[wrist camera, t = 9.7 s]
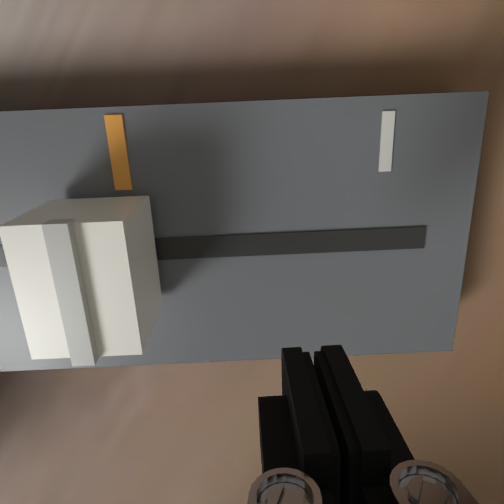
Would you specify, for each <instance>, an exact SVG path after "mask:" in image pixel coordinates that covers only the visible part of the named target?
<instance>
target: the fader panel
mask: <svg viewBox="0 0 504 504" xmlns="http://www.w3.org/2000/svg"><path fill="white" fill-rule="evenodd" d="M488 98H489V91H477V92H453V93H429V94H406V95H382V96H358V97H334V98H310V99H286V100H263V101H239V102H215V103H191V104H167V105H143V106H119V107H96V108H72V109H48V110H24V111H0V225H2V224H4V223H6V222H8V221H10V220H12V219H14V218H16V217H18V216H20V215H22V214H24V213H26V212H28V211H30V210H32V209H34V208H36V207H38V206H40V205H42V204H44V203H46V202H48V201H50V200H57V199H80V198H103V197H126V196H149V199H150V207H151V215H152V223H153V231H154V239H155V247H156V255H157V263H158V271H159V279H160V287H161V295H162V303H163V305H162V307H161V310H160V312H159V315H158V317H157V320H156V322H155V325H154V327H153V330H152V332H151V335H150V337H149V340H148V342H147V345H146V347H145V350H144V352H143V354H142V355H121V356H100V357H99V359H98V361H97V363H96V364H95V365H94V366H73V367H72V363H71V359H70V358H56V359H35V360H32V359H31V355H30V351H29V347H28V343H27V339H26V335H25V332H24V328H23V324H22V320H21V316H20V312H19V308H18V304H17V300H16V296H15V292H14V288H13V285H12V281H11V277H10V273H9V269H8V265H7V261H6V257H5V253H4V249H3V245H2V241H1V237H0V372H3V371H24V370H46V369H68V368H89V367H111V366H133V365H154V364H176V363H198V362H219V361H241V360H263V359H281V349H282V348H288V347H301V348H302V351H303V352H309V353H310V356H311V357H314V352H315V351H320V350H321V346H325V345H342V347H343V349H344V351H345V353H346V355H347V356H349V355H371V354H392V353H414V352H436V351H453V344H454V337H455V330H456V323H457V316H458V309H459V302H460V295H461V288H462V281H463V274H464V267H465V260H466V253H467V246H468V239H469V232H470V225H471V217H472V210H473V203H474V196H475V189H476V182H477V175H478V168H479V161H480V154H481V147H482V140H483V133H484V126H485V119H486V112H487V105H488Z"/></svg>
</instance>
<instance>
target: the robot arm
mask: <svg viewBox="0 0 504 504" xmlns="http://www.w3.org/2000/svg"><path fill="white" fill-rule="evenodd" d="M281 359H282V396H266V397H258V407H259V429H260V447H261V462H262V475H260V476H259V477H257V479H256V480H255V481H254V483H253V484H252V486H251V489H250V492H249V496H248V502H247V504H479V503H478V502H477V501H476V500H475V498H474V497H473V496H472V495H471V493H470V492H469V491H468V490H467V489H466V487H465V486H464V485H463V484H462V482H461V481H460V480H459V479H458V478H457V477H456V476H455V475H454V474H453V473H451V472H450V471H448V470H447V469H445V468H443V467H442V466H440V465H437V464H435V463H432V462H429V461H423V460H414V458H413V456H412V454H411V452H410V450H409V448H408V446H407V444H406V443H405V441H404V439H403V437H402V435H401V433H400V431H399V429H398V428H397V426H396V424H395V422H394V420H393V418H392V416H391V414H390V413H389V411H388V409H387V407H386V405H385V403H384V401H383V399H382V397H381V396H380V394H379V393H378V391H376V390H373V391H363V389H362V387H361V384H360V382H359V380H358V378H357V376H356V374H355V372H354V370H353V368H352V366H351V364H350V361H349V359H348V357H347V355H346V353H345V351H344V349H343V347H342V345H325V346H321V350H320V351H315V352H314V365H313V362H312V359H311V356H310V353H309V352H303V351H302V348H301V347H288V348H282V349H281Z"/></svg>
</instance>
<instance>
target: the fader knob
mask: <svg viewBox="0 0 504 504" xmlns="http://www.w3.org/2000/svg"><path fill="white" fill-rule="evenodd" d="M0 237H1V241H2V245H3V249H4V253H5V257H6V261H7V265H8V269H9V273H10V277H11V281H12V285H13V288H14V292H15V296H16V300H17V304H18V308H19V312H20V316H21V320H22V324H23V328H24V332H25V335H26V339H27V343H28V347H29V351H30V355H31V359H32V360H35V359H56V358H70V359H71V363H72V367H73V366H94V365H95V364H96V363H97V361H98V359H99V357H100V356H121V355H142V354H143V352H144V350H145V347H146V345H147V342H148V340H149V337H150V335H151V332H152V330H153V327H154V325H155V322H156V320H157V317H158V315H159V312H160V310H161V307H162V305H163V303H162V295H161V287H160V279H159V271H158V263H157V255H156V247H155V239H154V231H153V223H152V215H151V207H150V199H149V196H126V197H103V198H80V199H57V200H50V201H48V202H46V203H44V204H42V205H40V206H38V207H36V208H34V209H32V210H30V211H28V212H26V213H24V214H22V215H20V216H18V217H16V218H14V219H12V220H10V221H8V222H6V223H4V224H2V225H0Z"/></svg>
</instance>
